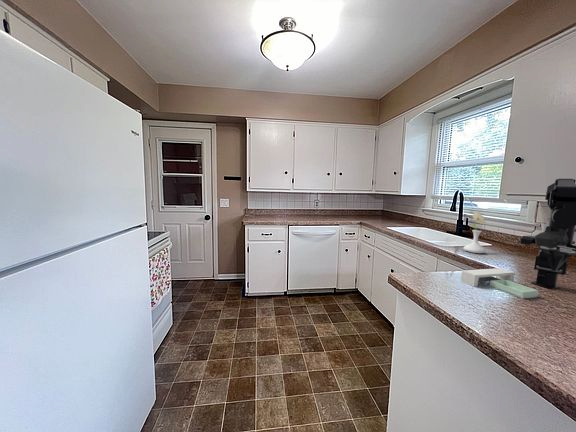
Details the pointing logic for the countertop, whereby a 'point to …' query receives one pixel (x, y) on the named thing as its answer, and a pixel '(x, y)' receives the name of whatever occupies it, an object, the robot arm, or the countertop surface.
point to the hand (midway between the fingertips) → (554, 270)
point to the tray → (514, 289)
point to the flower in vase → (476, 236)
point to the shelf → (486, 276)
